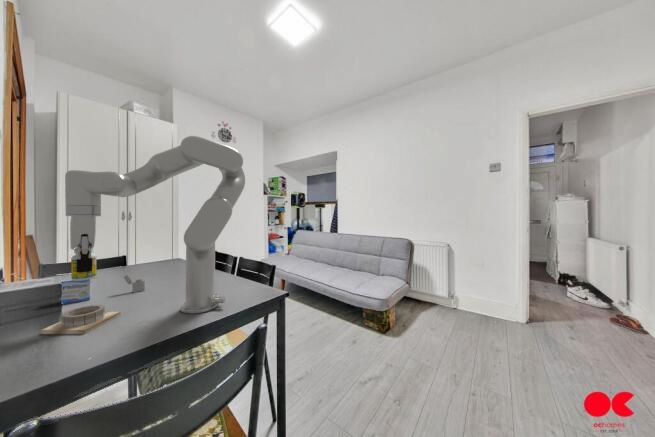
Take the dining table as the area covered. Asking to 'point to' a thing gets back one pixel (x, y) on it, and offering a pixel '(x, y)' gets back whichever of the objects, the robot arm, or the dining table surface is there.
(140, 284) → the lighter
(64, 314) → the collar block
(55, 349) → the dining table surface
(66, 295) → the medicine box
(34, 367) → the dining table surface
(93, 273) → the supplement bottle
